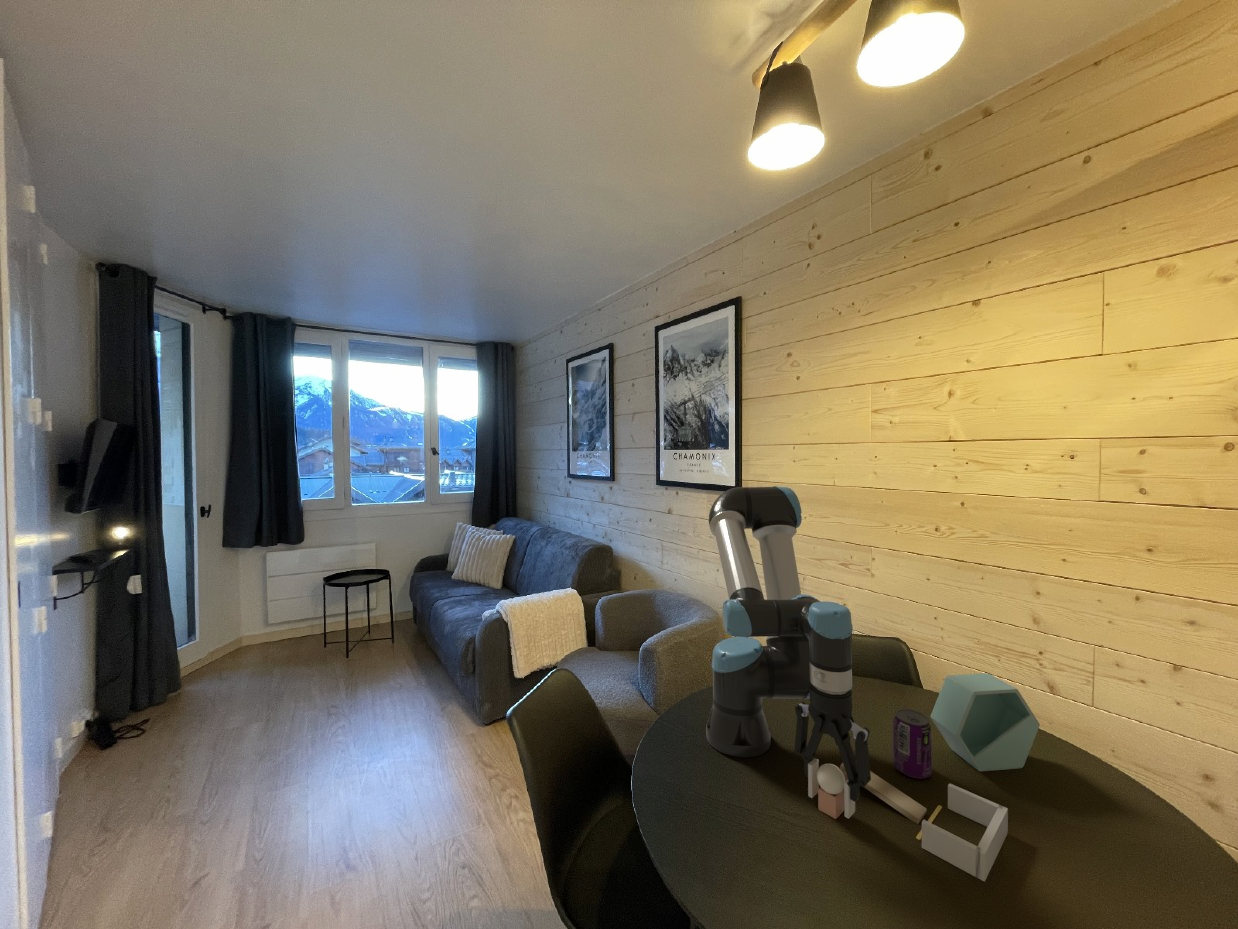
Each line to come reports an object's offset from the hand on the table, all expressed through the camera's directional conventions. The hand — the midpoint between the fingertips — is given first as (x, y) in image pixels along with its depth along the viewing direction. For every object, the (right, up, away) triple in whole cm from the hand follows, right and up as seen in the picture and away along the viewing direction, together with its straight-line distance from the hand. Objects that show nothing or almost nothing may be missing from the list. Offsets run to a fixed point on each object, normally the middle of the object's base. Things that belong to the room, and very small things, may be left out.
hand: (831, 803), depth 94 cm
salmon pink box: (0, -1, 0) cm, 1 cm away
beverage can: (+22, -1, +11) cm, 25 cm away
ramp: (+11, -1, +3) cm, 12 cm away
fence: (+20, -1, -8) cm, 22 cm away
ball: (0, +5, 0) cm, 5 cm away
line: (+17, -1, -3) cm, 17 cm away
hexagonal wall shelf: (+40, 0, +14) cm, 43 cm away
